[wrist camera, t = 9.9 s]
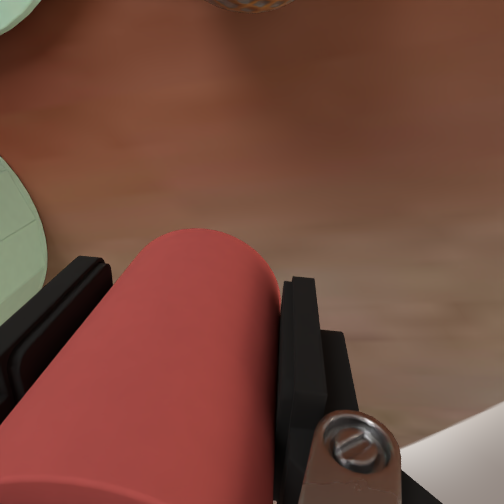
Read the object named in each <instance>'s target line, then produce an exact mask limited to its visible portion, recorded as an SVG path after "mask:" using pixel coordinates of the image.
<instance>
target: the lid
mask: <svg viewBox="0 0 504 504" xmlns="http://www.w3.org/2000/svg"><path fill="white" fill-rule="evenodd" d="M40 1H41V0H0V35H2V34H4V33H5V32H7V31H9V30H11V29H12V28H14V27H15V26H16V25H17V24H18V23H20V22H21V21H22V20H23V19H24V18H26V17H27V16H28V15H29V14H30V13H31V12H32V11H33V9H34V8H35V7H36V6H37V5H38V4H39V2H40Z"/></svg>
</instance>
